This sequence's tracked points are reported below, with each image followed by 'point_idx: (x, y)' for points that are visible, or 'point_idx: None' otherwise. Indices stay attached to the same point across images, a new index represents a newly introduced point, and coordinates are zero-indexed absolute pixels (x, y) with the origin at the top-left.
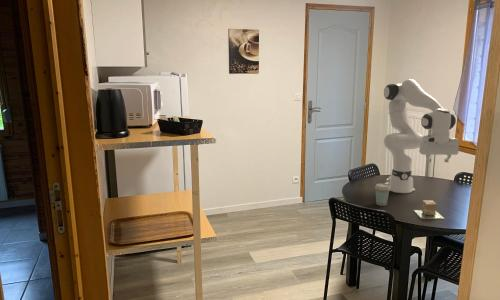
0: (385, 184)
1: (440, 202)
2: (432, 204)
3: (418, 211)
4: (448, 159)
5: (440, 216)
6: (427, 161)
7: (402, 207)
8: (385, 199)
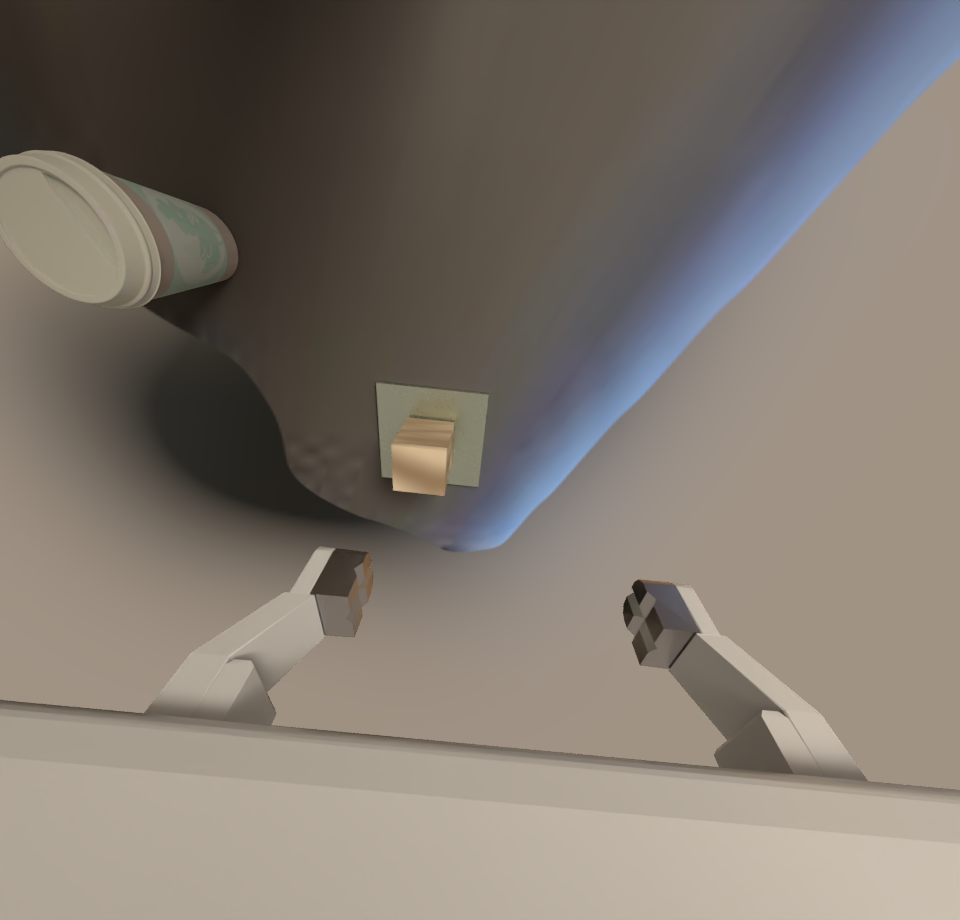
0: (82, 197)
1: (615, 233)
2: (425, 491)
3: (395, 404)
4: (685, 671)
5: (472, 468)
6: (321, 555)
7: (331, 319)
8: (197, 286)
